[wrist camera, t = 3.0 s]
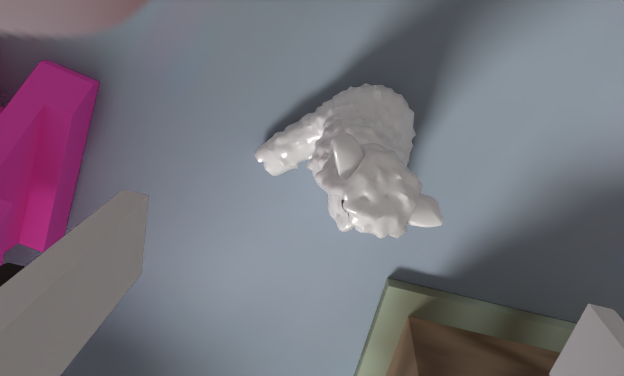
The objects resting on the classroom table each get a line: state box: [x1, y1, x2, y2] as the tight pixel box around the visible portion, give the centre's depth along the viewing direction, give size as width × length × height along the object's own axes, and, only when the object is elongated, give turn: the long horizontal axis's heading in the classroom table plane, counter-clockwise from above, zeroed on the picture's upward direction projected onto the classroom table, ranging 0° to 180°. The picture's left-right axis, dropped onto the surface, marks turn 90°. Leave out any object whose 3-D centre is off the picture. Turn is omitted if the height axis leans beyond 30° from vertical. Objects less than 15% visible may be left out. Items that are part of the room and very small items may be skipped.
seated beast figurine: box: [255, 83, 443, 239], centre depth 24 cm, size 10×9×12 cm
